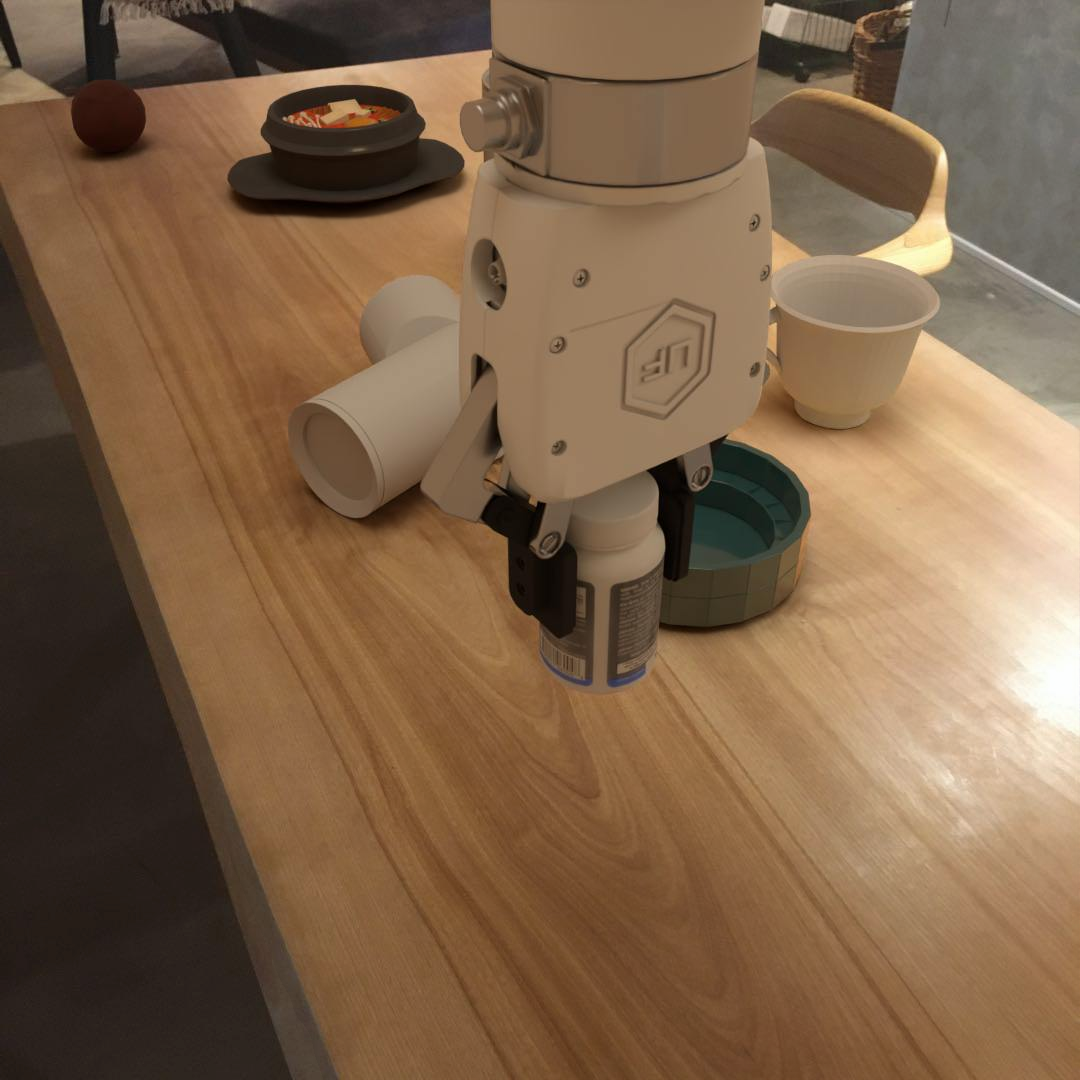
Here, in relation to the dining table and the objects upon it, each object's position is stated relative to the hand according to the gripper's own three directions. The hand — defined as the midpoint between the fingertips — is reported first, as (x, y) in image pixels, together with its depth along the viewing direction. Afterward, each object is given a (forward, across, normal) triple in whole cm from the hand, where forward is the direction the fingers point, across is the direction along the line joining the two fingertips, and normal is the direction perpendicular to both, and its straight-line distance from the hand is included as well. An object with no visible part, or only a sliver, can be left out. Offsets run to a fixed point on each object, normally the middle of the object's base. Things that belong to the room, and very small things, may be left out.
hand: (600, 584), depth 45 cm
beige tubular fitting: (+18, +12, +37) cm, 43 cm away
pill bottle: (+4, 0, 0) cm, 4 cm away
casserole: (+18, +33, +85) cm, 93 cm away
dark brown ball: (+18, +16, +109) cm, 112 cm away
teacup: (+18, +40, +24) cm, 50 cm away
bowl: (+18, +20, +16) cm, 31 cm away
